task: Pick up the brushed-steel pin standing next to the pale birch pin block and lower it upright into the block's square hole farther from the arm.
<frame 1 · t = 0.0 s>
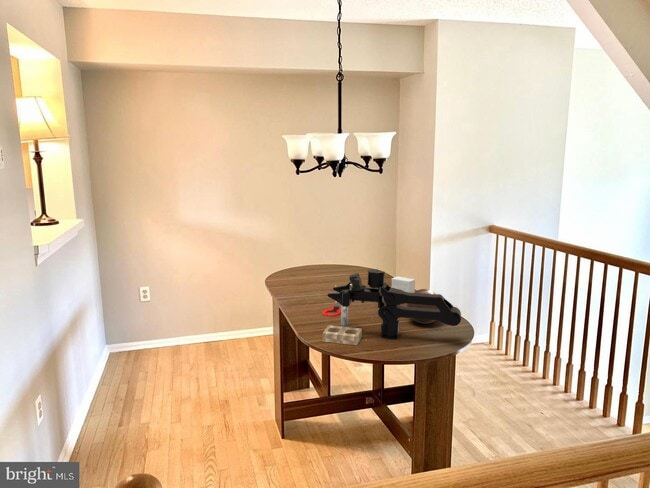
hand: (330, 291, 200), 17 cm above the table, tool horizontal, fingers open, 9 cm apart
metal pin: (344, 328, 204), on the table
skincare box: (402, 298, 246), on the table
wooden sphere: (423, 323, 211), on the table
tow hook: (331, 314, 223), on the table
pin block: (342, 339, 193), on the table
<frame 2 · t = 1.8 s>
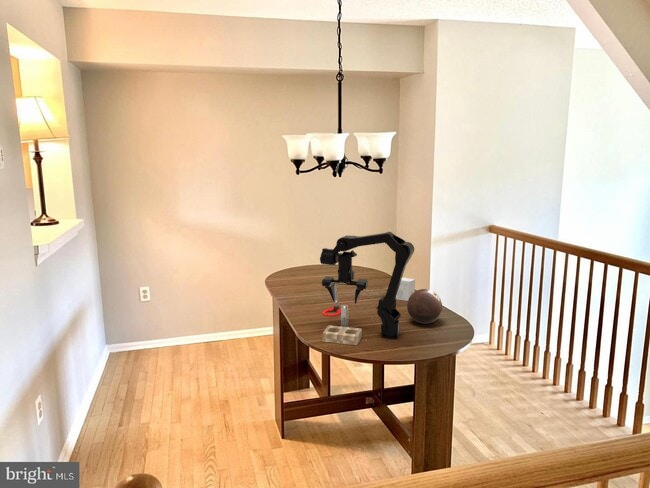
hand: (344, 302, 202), 11 cm above the table, tool pointing down, fingers open, 9 cm apart
nothing on the table moved.
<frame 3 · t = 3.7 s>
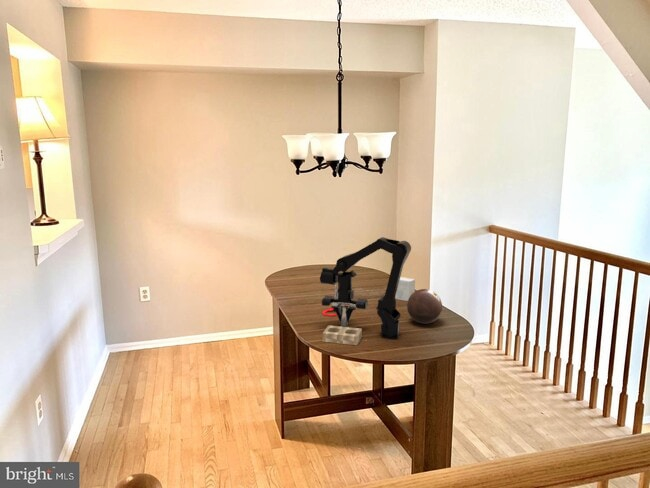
hand: (344, 321, 204), 3 cm above the table, tool pointing down, fingers closed on metal pin, 3 cm apart
metal pin: (344, 328, 204), on the table, touching gripper
everything else where it was.
when the fingers open (4 cm above the table, at t = 8.4 s): metal pin drops 1 cm, resting in pin block.
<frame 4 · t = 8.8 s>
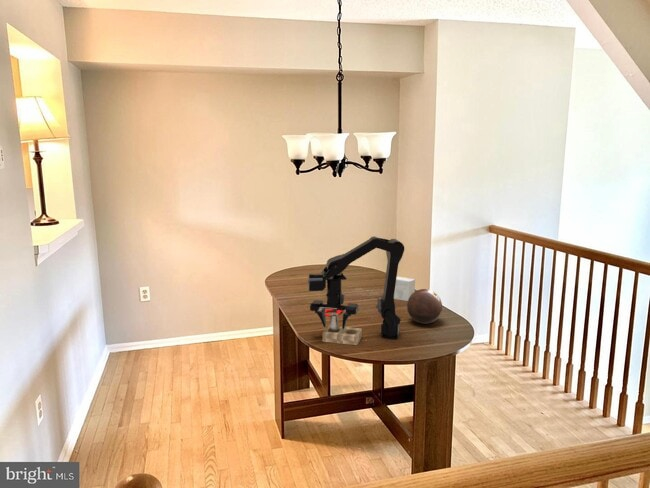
hand: (334, 327, 193), 5 cm above the table, tool pointing down, fingers open, 7 cm apart
metal pin: (334, 338, 193), resting in pin block
everything else where it was.
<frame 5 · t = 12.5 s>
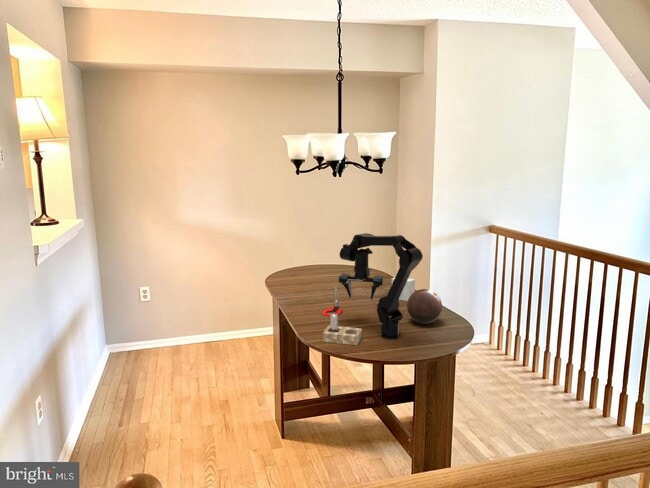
hand: (361, 298, 205), 12 cm above the table, tool pointing down, fingers open, 9 cm apart
nothing on the table moved.
at the end: metal pin 0.0 cm from the target spot on the pin block, point 0.0 cm above the pin block's base; metal pin tilted 0°; the gripper is holding nothing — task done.
